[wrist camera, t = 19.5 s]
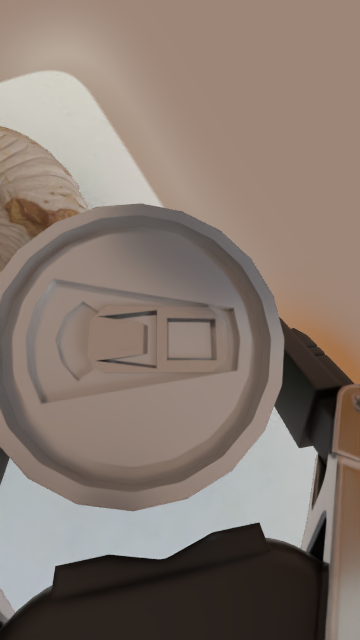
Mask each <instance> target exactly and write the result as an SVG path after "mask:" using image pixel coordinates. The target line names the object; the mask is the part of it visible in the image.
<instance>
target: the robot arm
mask: <svg viewBox="0 0 360 640" xmlns="http://www.w3.org/2000/svg"><path fill="white" fill-rule="evenodd" d="M279 319H280V323H281V327H282V331H283V335H284V356H283V375H282V386H281V389H280V391H279V394H278V397H277V399H276V402H275V405H274V406H275V408H276V410H277V411H278V413H279V415H280V417H281V418H282V420H283V422H284V423H285V425H286V427H287V428H288V430H289V432H290V434H291V435H292V437H293V439H294V440H295V442H296V444H297V445H298V447H299V448H303V447H308V446H314V448H315V449H316V451H317V452H318V453H317V456H316V459H315V466H314V473H313V481H312V488H311V495H310V503H309V510H308V517H307V522H306V527H305V531H304V534H303V539H302V544H301V549H300V548H298V547H296V546H294V545H291V544H289V543H286V542H284V541H280V540H275V539H271V538H265V537H264V534H263V531H262V528H261V526H260V523H255V524H250V525H245V526H241V527H236V528H231V529H227V530H222V531H217V532H213V533H211V534H209V535H207V536H206V537H204V538H202V539H200V540H198V541H197V542H195V543H193V544H191V545H190V546H188V547H186V548H184V549H182V550H181V551H179V552H177V553H175V554H174V555H172V556H170V557H168V558H166V559H148V558H138V557H127V556H117V555H105V556H101V557H96V558H92V559H87V560H82V561H78V562H73V563H68V564H64V565H59V566H55V572H54V579H53V585H52V586H50V587H48V588H46V589H45V590H43V591H42V592H41V593H39V594H38V595H36V596H35V597H33V598H32V599H31V600H30V601H28V602H27V603H26V604H25V605H24V606H22V607H21V608H20V609H19V610H18V611H17V612H16V613H15V612H14V610H13V608H12V606H11V604H10V603H9V601H8V599H7V598H6V596H5V595H4V593H3V591H2V589H1V588H0V640H360V384H354V383H353V382H352V381H351V380H350V379H349V378H348V377H347V375H345V373H344V372H343V371H342V370H341V369H340V368H339V367H338V366H337V365H336V364H335V363H334V362H333V361H332V360H331V359H330V358H329V357H328V356H327V355H325V353H324V352H323V351H322V350H321V349H320V348H319V347H317V345H316V344H315V343H314V342H313V341H312V340H311V339H310V338H309V337H308V336H307V335H306V334H304V333H302V332H300V331H298V330H296V329H295V328H292V329H290V328H289V327H288V326H287V325H286V324H285V323H284V321H283V320H282V319H281V318H280V317H279ZM9 458H10V457H9V456H8V455H7V454H6V453H5V452H4V450H3V449H2V448H1V447H0V484H1V481H2V478H3V476H4V473H5V470H6V467H7V464H8V461H9Z"/></svg>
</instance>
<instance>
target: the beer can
mask: <svg viewBox="0 0 360 640" xmlns="http://www.w3.org/2000/svg"><path fill="white" fill-rule="evenodd" d="M283 356H284V335H283V331H282V327H281V323H280V319H279V316H278V312H277V308H276V304H275V300H274V296H273V294H272V292H271V291H270V290H269V288H268V286H267V284H266V283H265V281H264V279H263V278H262V276H261V275H260V273H259V271H258V269H257V268H256V266H255V264H254V263H253V261H252V260H251V258H249V256H247V255H246V254H245V253H244V252H243V251H242V250H241V249H240V248H239V247H237V245H235V244H234V243H233V242H232V241H231V240H230V239H229V238H228V237H227V236H225V234H223V233H222V232H221V231H220V230H218V229H216V228H214V227H212V226H210V225H208V224H206V223H204V222H202V221H200V220H198V219H196V218H194V217H192V216H190V215H188V214H186V213H184V212H182V211H177V210H171V209H166V208H161V207H156V206H151V205H145V204H129V205H116V206H104V207H96V208H93V209H90V210H88V211H85V212H82V213H80V214H77V215H74V216H72V217H69V218H66V219H64V220H61V221H58V222H55V223H54V224H52V225H51V226H50V227H48V228H47V229H46V230H44V231H43V232H42V233H40V234H39V235H38V236H36V237H35V238H34V239H32V240H31V241H30V242H28V243H27V244H25V245H24V246H23V247H21V248H20V249H19V250H17V252H16V253H15V254H14V256H13V257H12V259H11V260H10V261H9V263H8V264H7V265H6V267H5V268H4V269H3V271H2V272H1V273H0V447H1V448H2V449H3V450H4V452H5V453H6V454H7V455H8V456H9V457H10V458H11V460H12V461H13V462H14V463H15V464H16V465H17V466H18V468H19V469H20V470H21V471H22V472H23V473H24V474H25V476H26V477H27V478H28V479H30V480H32V481H34V482H36V483H38V484H40V485H42V486H44V487H45V488H47V489H49V490H51V491H53V492H55V493H57V494H59V495H61V496H63V497H64V498H66V499H68V500H70V501H72V502H74V503H76V504H79V505H87V506H95V507H103V508H111V509H119V510H127V511H136V510H140V509H145V508H149V507H153V506H158V505H162V504H167V503H171V502H175V501H180V500H184V499H187V498H189V497H191V496H192V495H194V494H195V493H197V492H199V491H200V490H202V489H203V488H205V487H207V486H208V485H210V484H211V483H213V482H214V481H216V480H218V479H219V478H221V477H222V476H224V475H226V474H227V473H229V472H230V471H232V470H233V469H234V468H235V466H236V465H237V464H238V463H239V461H240V460H241V459H242V458H243V456H244V455H245V454H246V453H247V452H248V450H249V449H250V448H251V447H252V445H253V444H254V443H255V442H256V440H257V439H258V438H259V437H260V436H261V434H262V433H263V432H264V431H265V428H266V426H267V423H268V420H269V418H270V415H271V412H272V410H273V407H274V405H275V402H276V399H277V397H278V394H279V391H280V389H281V386H282V375H283Z"/></svg>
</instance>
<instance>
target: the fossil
mask: <svg viewBox="0 0 360 640" xmlns="http://www.w3.org/2000/svg"><path fill="white" fill-rule="evenodd" d="M87 208H88V205H87V204H86V202H85V201H84V199H83V198H82V196H81V194H80V192H79V187H78V185H77V183H76V182H75V181H74V179H73V178H72V177H71V174H70V173H69V172H68V170H67V169H66V168H65V167H63V165H62V164H61V163H60V162H59V161H57V160H56V159H55V157H54V156H53V155H52V154H51V153H49V152H48V150H47V149H45V148H43V147H42V146H41V145H39V144H38V143H36V142H35V141H33V140H32V139H30V138H29V137H27V136H25V135H23V134H21V133H19V132H17V131H14V130H11V129H8V128H4V127H0V273H1V272H2V271H3V269H4V268H5V267H6V265H7V264H8V263H9V261H10V260H11V259H12V257H13V256H14V254H15V253H16V252H17V250H19V249H20V248H21V247H23V246H24V245H25V244H27V243H28V242H30V241H31V240H32V239H34V238H35V237H36V236H38V235H39V234H40V233H42V232H43V231H44V230H46V229H47V228H48V227H50V226H51V225H52V224H54V223H55V222H58V221H61V220H64V219H66V218H69V217H72V216H74V215H77V214H80V213H82V212H85V211H88V209H87Z"/></svg>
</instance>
